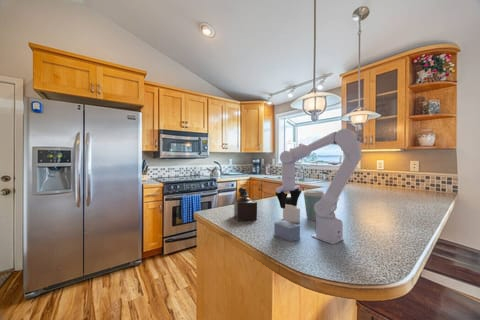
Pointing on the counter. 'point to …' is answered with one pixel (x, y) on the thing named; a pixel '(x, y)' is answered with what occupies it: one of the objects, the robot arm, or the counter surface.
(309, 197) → the disposable coffee cup
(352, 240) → the counter surface
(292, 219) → the medicine bottle
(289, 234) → the blue-gray rectangular block
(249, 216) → the dark brown boxy bottle
